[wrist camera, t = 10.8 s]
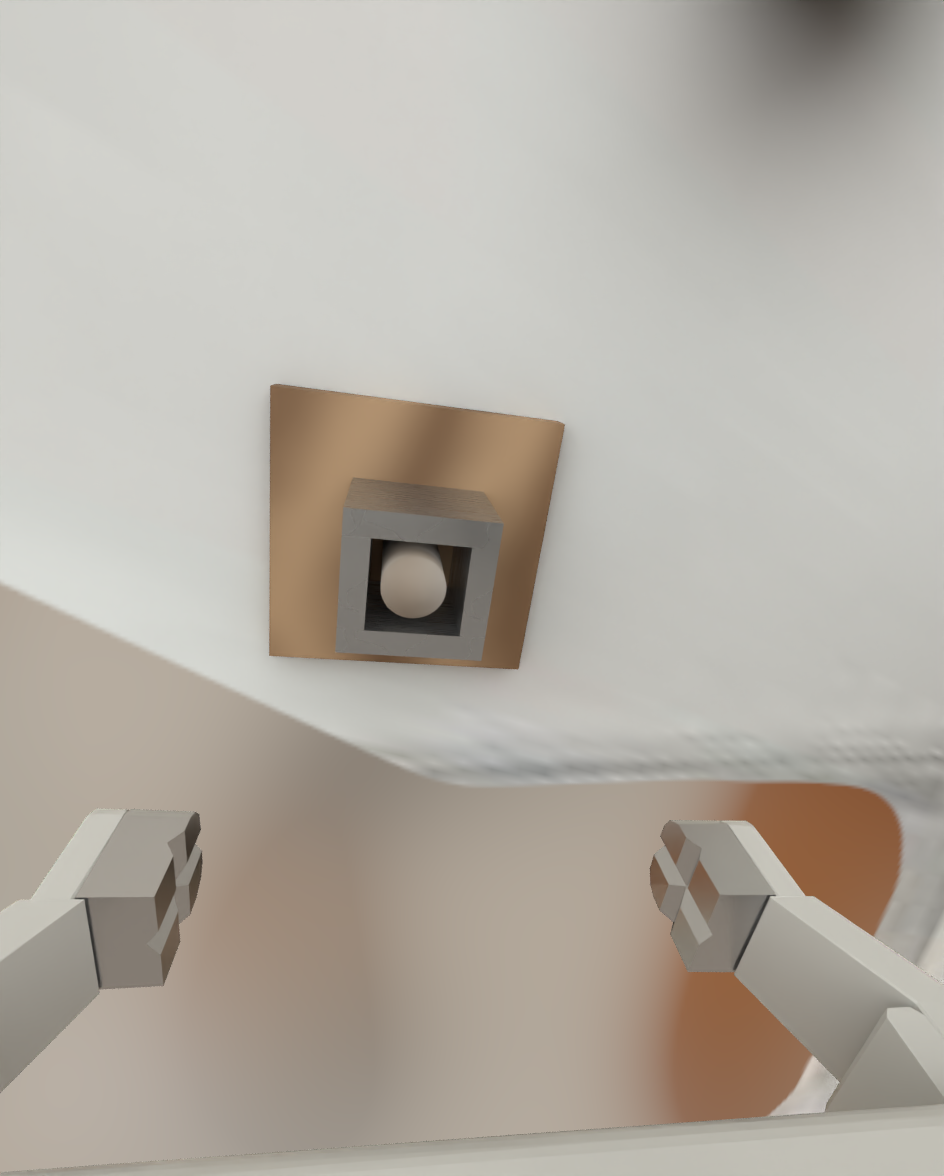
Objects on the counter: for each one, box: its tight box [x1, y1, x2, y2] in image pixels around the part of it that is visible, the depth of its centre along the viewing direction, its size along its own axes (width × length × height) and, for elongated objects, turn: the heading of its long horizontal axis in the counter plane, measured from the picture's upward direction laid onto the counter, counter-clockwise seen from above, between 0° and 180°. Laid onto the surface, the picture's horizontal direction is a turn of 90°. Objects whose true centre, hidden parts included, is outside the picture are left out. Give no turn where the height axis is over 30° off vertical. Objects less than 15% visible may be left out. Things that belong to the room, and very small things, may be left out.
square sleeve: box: [335, 477, 504, 661], centre depth 23 cm, size 6×6×5 cm
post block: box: [269, 384, 565, 669], centre depth 23 cm, size 12×12×6 cm
